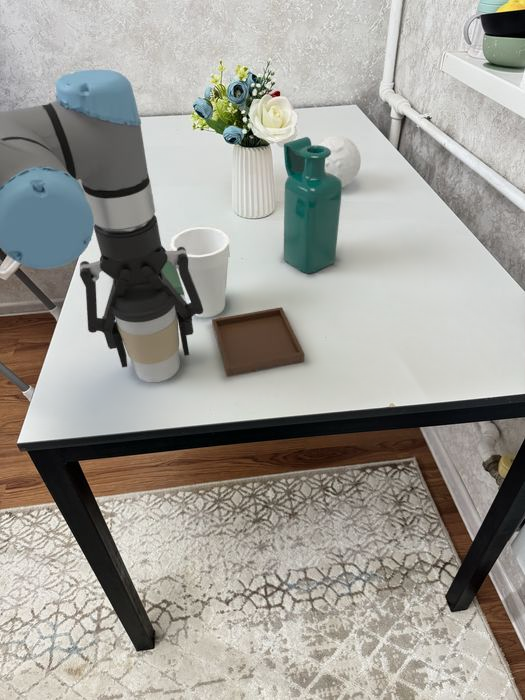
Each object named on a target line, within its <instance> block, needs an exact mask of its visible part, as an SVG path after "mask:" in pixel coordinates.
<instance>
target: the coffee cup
mask: <svg viewBox="0 0 525 700" xmlns="http://www.w3.org/2000/svg"><path fill="white" fill-rule="evenodd" d="M175 303H176V301H175V300H174V299H173V296H169V295H168V294H167V293H166V292H165V291H159V290H157V289H156V288H155V286H154V285H153V284H152V283H151V285H138V286H136V287H133V288H127V287H126V289H125V293H124V295H123V296H122V298H117V300H116V304H115V305H113V306H111V308H112V311H111V313H112V314H113V315H114V316H115V322H116V325H117V327H118V330H119V333H120V335H121V338H122V340H123V344H124V348H125V351H126V354H127V355H128V358H129V359H130V361H131V363H132V366H133V369H134V372H135V374H136V376H137V377H138V378H139V379H140V380H142V381H144V382H147V383H160V382H164V381H167V380H168V379H170V378H172V377H173V376H174V375H175V374H177V372H178V371H179V369H180V366H181V363H180V350H179V347H180V331H179V324H178V317H177V310H176V309H175Z"/></svg>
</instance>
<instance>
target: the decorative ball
mask: <svg viewBox="0 0 525 700" xmlns="http://www.w3.org/2000/svg"><path fill="white" fill-rule="evenodd" d="M317 145H319V146H324V147H327V148H328V149H330V150H331V155H330V156H329V157H327V158H325V171H326V172H328V173H330V174H332V175H334V176H336V177H338V178H339V179H340V180H341V182H342V189H343V188H345V187H347V186H348V185H350V184H351V183H353V181H354V180H355V179H356V177H357V176H358V174H359V172H360V169H361V163H362V161H361V160H362V158H361V153H360V150H359V149H358V146H357V144H355V143H354V142H353V140H351V139H349V138H347V137H345V136H341V135H333V136H329V137H326V138H325V139H323V140H321V141H320V142H319V143H317Z"/></svg>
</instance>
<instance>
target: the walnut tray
mask: <svg viewBox="0 0 525 700" xmlns="http://www.w3.org/2000/svg"><path fill="white" fill-rule="evenodd" d="M211 325H212V330H213V334H214V337H215V340H216V343H217V347H218V350H219V354H220V358H221V360H222V364H223V368H224V371H225V374H226V377H233V376H238V375H243V374H248V373H249V374H250V373H253V372H258V371H259V372H260V371H263V370H268V369H274V368H278V367H284V366H289V365H294V364H300V363H304V362H305V352H304V350H303V348H302V346H301V344H300V341H299V340H298V338H297V335H296V334H295V331H294V330H293V327H292V325H291V323H290V321H289V319H288V317H287V314H286V312H285V310H284V309H283V307H275V308H270V309H269V308H268V309H263V310H257V311H252V312H246V313H240V314H233V315H229V316H224V317H218V318H217V317H216V318H212V319H211Z"/></svg>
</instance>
